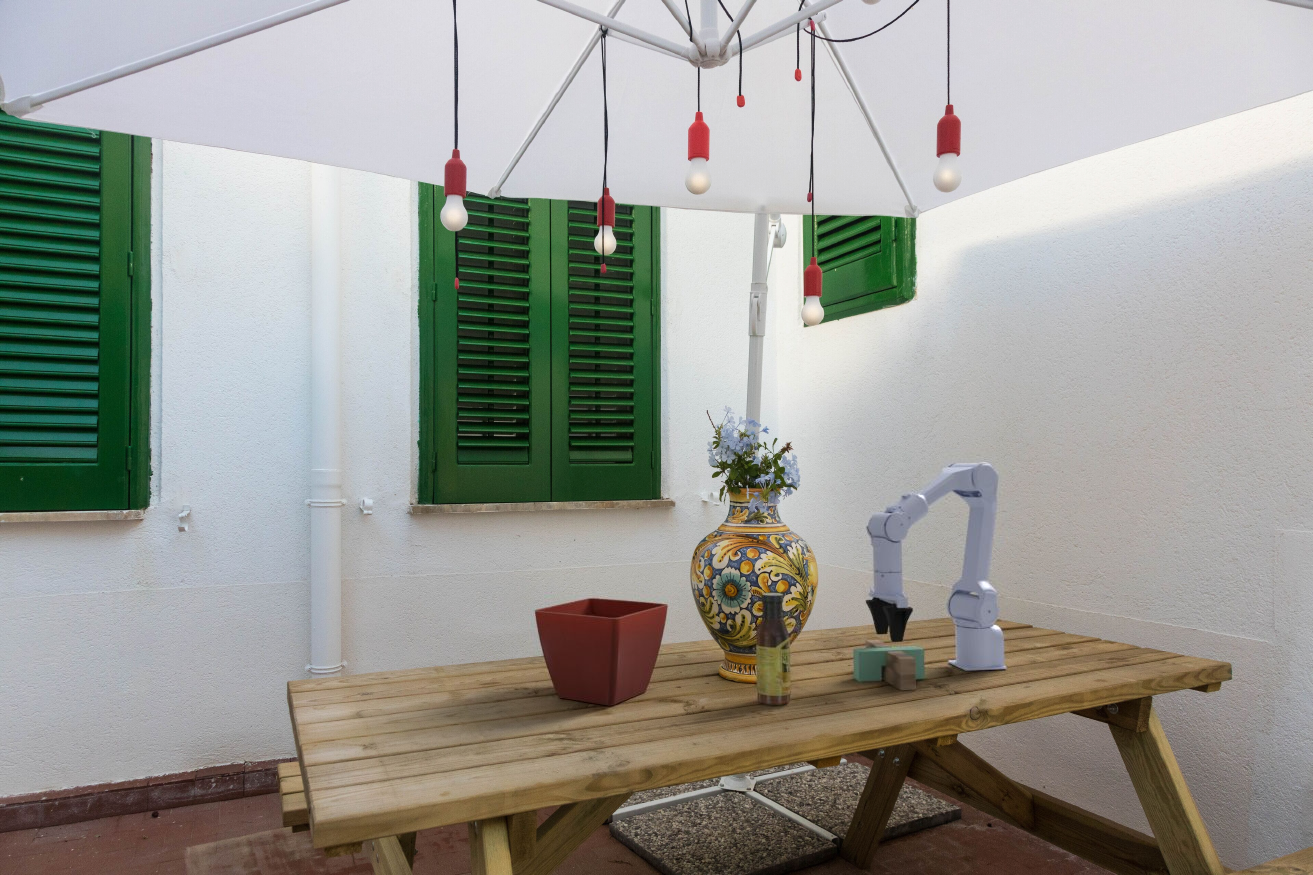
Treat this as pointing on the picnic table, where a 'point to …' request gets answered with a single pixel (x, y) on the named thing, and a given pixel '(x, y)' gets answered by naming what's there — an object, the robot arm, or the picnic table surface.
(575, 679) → the plant pot
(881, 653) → the green notched bar
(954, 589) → the robot arm
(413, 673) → the picnic table surface
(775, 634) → the sauce bottle
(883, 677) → the walnut notched bar
